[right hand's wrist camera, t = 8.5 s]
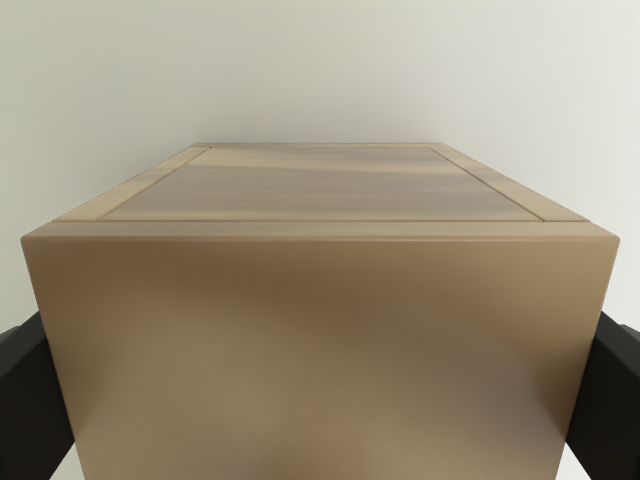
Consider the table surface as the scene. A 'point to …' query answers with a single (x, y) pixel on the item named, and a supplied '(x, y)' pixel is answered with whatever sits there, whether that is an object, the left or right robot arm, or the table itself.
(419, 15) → the table surface
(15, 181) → the table surface
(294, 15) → the table surface
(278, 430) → the cabinet
